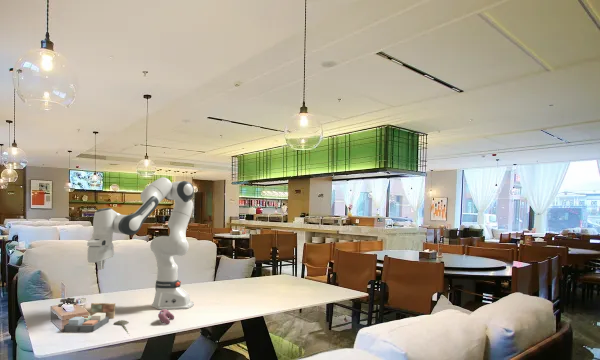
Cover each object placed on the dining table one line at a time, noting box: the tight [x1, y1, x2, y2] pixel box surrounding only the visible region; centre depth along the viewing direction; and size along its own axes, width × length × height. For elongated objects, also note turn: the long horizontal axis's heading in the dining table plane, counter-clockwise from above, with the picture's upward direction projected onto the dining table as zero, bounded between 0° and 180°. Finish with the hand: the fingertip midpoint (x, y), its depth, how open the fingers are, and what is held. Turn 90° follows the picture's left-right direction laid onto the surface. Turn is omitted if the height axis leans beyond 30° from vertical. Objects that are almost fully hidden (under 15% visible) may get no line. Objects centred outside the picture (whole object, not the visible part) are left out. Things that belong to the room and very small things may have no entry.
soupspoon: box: [113, 319, 130, 335], centre depth 163 cm, size 22×3×7 cm
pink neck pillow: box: [157, 309, 175, 325], centre depth 177 cm, size 10×5×7 cm, turn 5°
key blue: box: [67, 316, 84, 325], centre depth 159 cm, size 4×5×3 cm
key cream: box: [91, 313, 106, 321], centre depth 166 cm, size 4×5×3 cm
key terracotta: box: [83, 320, 98, 325], centre depth 159 cm, size 4×5×3 cm
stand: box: [89, 302, 116, 319], centre depth 176 cm, size 12×4×8 cm, turn 93°
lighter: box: [57, 297, 78, 307], centre depth 176 cm, size 8×3×10 cm, turn 145°
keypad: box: [63, 317, 110, 333], centre depth 162 cm, size 12×15×4 cm
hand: (100, 269), depth 180 cm, fingers closed
